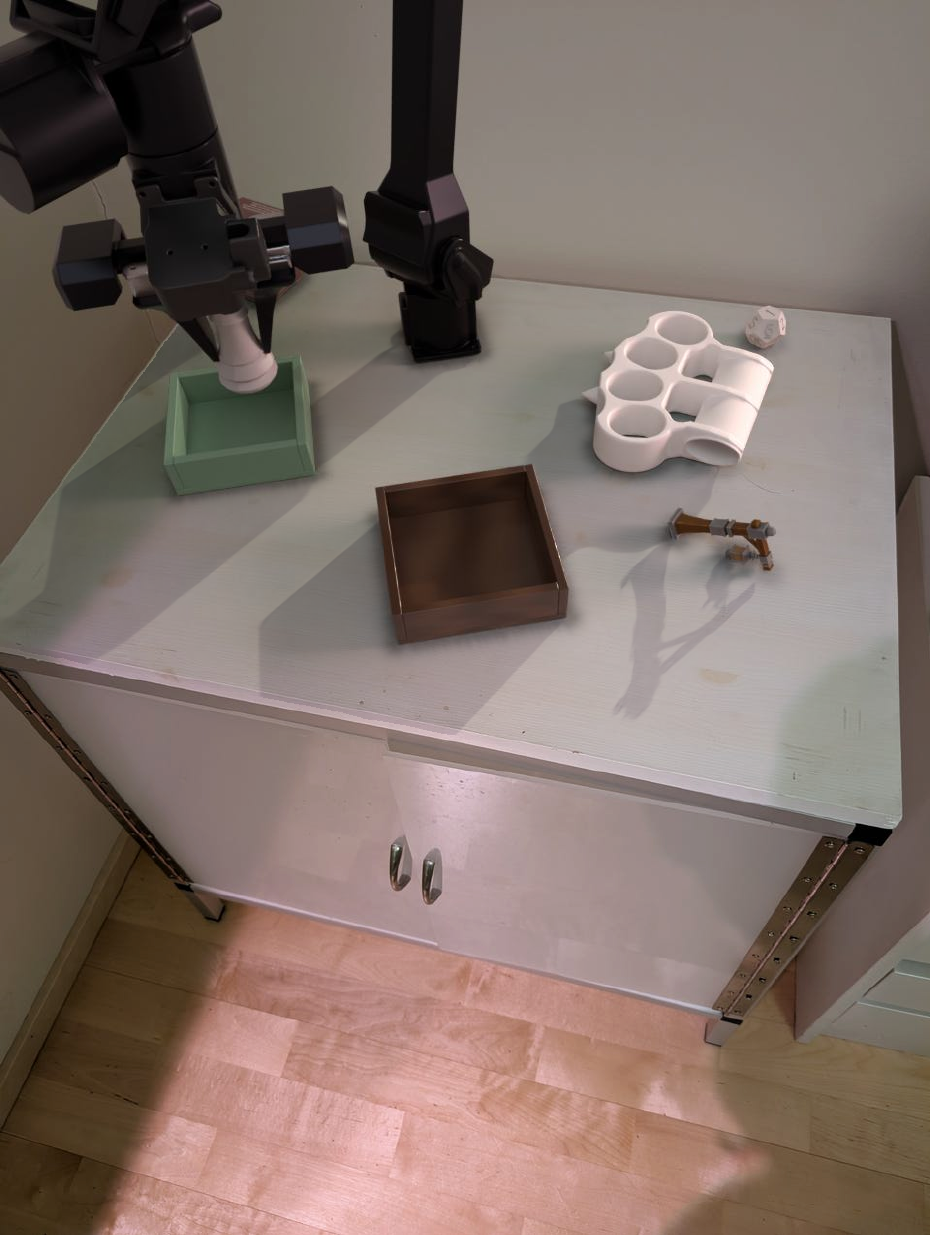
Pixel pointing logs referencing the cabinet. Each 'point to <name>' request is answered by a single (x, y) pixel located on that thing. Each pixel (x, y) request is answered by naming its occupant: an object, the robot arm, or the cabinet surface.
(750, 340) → the game die
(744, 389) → the white brass knuckles
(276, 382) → the green bin
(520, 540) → the walnut tray
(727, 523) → the wooden post with brackets
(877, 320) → the cabinet surface
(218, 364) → the rook chess piece
